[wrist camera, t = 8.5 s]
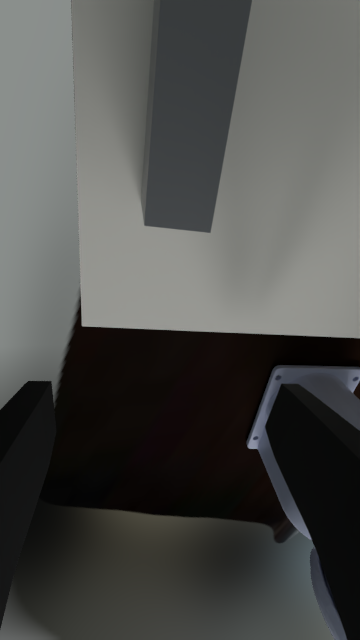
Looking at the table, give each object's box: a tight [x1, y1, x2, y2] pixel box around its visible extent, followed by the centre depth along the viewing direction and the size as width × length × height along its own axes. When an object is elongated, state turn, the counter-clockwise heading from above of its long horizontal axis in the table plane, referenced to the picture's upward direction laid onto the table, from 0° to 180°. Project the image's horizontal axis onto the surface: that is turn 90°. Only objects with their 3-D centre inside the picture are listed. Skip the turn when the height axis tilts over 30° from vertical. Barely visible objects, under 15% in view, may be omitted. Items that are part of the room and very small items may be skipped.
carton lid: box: [71, 0, 360, 338], centre depth 8 cm, size 14×14×4 cm
